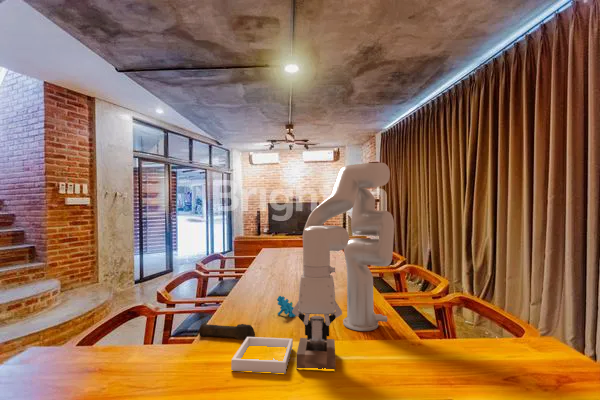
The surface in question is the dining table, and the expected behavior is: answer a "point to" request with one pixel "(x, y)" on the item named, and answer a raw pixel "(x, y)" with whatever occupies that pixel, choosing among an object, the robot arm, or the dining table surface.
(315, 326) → the pin
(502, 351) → the dining table surface
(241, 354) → the tray
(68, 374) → the dining table surface
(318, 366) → the socket block
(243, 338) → the hand tool
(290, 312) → the teal knobbly figurine
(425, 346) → the dining table surface
